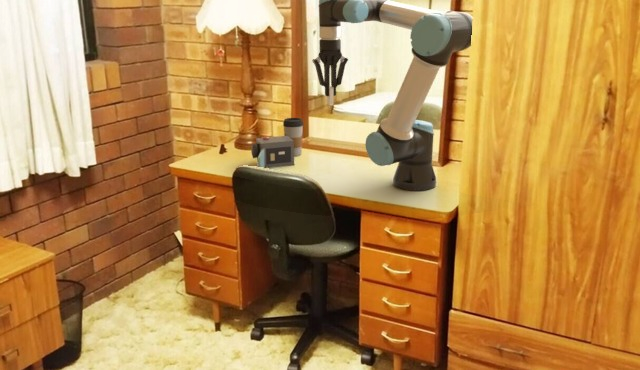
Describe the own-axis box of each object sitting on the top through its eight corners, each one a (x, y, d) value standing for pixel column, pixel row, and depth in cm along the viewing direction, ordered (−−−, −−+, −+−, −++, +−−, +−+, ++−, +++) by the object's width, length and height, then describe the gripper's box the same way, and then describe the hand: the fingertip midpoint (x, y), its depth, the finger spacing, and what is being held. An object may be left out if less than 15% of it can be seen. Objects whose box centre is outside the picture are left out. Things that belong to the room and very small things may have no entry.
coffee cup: (281, 153, 265) (280, 118, 260) (299, 151, 268) (298, 116, 264) (288, 158, 258) (287, 122, 253) (306, 155, 261) (306, 120, 256)
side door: (261, 166, 244) (260, 148, 242) (265, 166, 244) (264, 148, 242) (257, 175, 233) (256, 157, 230) (261, 175, 233) (260, 157, 230)
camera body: (294, 165, 248) (293, 138, 245) (255, 169, 244) (254, 142, 240) (288, 159, 257) (287, 133, 253) (250, 163, 252) (249, 136, 249)
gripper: (343, 37, 226) (343, 101, 234) (309, 38, 223) (310, 104, 230) (351, 38, 219) (350, 105, 227) (315, 40, 216) (316, 108, 223)
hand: (330, 104), depth 228 cm, fingers closed
